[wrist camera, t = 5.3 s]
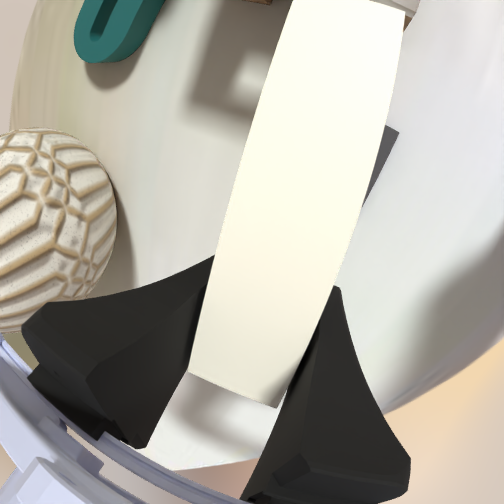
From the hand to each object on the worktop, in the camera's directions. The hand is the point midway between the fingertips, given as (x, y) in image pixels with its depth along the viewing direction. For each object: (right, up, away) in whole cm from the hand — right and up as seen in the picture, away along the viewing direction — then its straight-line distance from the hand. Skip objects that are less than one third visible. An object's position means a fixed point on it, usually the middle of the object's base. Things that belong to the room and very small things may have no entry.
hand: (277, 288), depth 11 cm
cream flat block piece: (+2, +4, +1) cm, 4 cm away
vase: (-17, +7, +13) cm, 23 cm away
